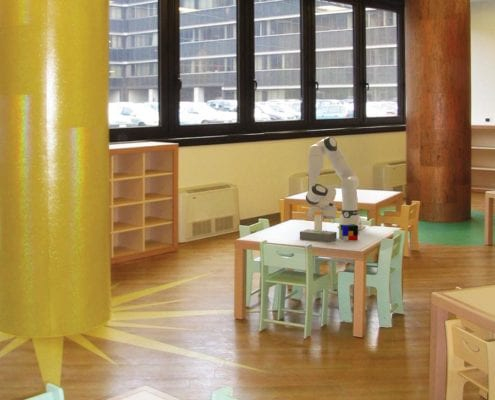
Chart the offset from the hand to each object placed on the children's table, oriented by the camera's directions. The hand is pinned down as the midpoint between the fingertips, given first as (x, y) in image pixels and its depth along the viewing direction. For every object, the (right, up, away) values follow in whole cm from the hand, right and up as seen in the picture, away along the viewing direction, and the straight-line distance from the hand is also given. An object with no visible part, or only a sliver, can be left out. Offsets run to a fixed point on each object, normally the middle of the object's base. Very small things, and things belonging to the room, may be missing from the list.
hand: (318, 222), depth 567 cm
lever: (0, -6, 0) cm, 6 cm away
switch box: (0, -11, 0) cm, 11 cm away
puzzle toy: (+20, -12, 0) cm, 23 cm away
